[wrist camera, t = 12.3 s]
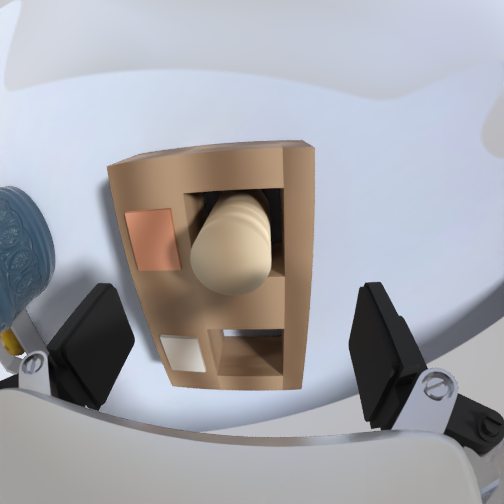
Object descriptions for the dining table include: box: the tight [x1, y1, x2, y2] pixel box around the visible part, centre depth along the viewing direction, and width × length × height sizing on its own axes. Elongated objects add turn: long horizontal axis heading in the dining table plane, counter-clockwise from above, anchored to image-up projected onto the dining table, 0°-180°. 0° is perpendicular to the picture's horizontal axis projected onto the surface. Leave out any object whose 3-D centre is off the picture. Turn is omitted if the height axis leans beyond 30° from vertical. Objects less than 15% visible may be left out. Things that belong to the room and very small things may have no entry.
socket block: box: [107, 140, 315, 390], centre depth 21 cm, size 12×20×5 cm, turn 3°
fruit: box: [0, 328, 25, 356], centre depth 30 cm, size 8×8×4 cm
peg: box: [190, 189, 271, 296], centre depth 17 cm, size 4×4×8 cm
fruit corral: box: [0, 308, 49, 375], centre depth 30 cm, size 15×14×4 cm
